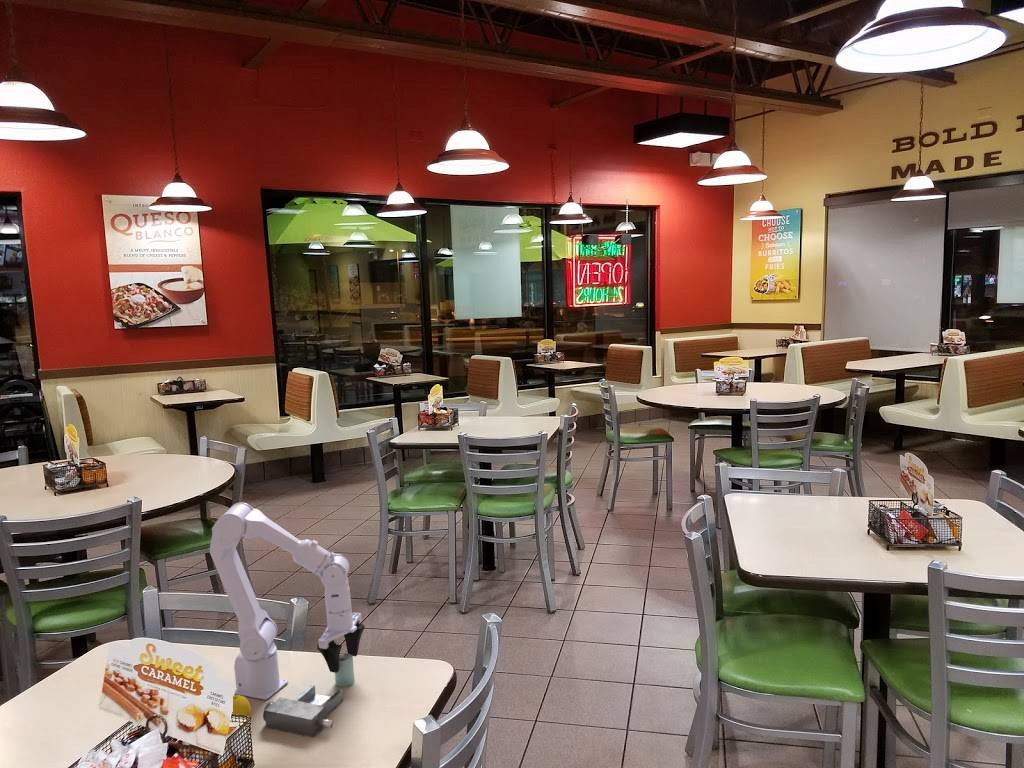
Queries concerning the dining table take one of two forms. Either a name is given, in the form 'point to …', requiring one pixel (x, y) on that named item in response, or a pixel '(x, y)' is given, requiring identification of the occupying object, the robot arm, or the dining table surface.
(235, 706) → the lemon
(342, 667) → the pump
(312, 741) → the dining table surface
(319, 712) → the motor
